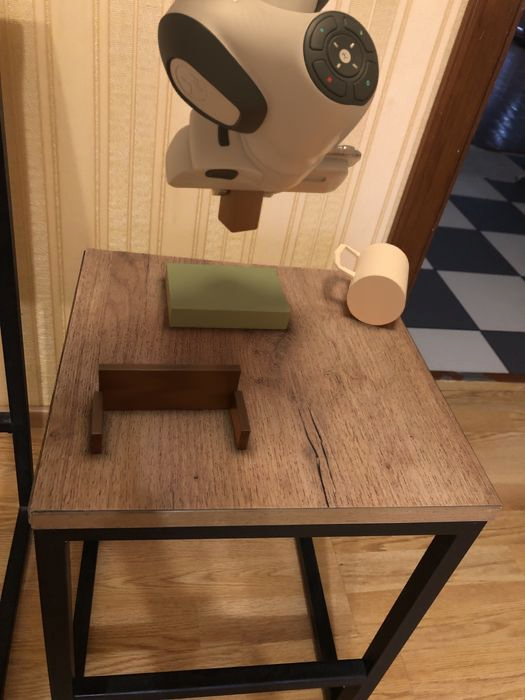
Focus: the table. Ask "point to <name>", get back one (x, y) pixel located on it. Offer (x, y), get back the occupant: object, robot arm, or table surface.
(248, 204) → the wooden block
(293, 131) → the robot arm
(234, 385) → the frame
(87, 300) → the table surface
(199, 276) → the board
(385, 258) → the cup
